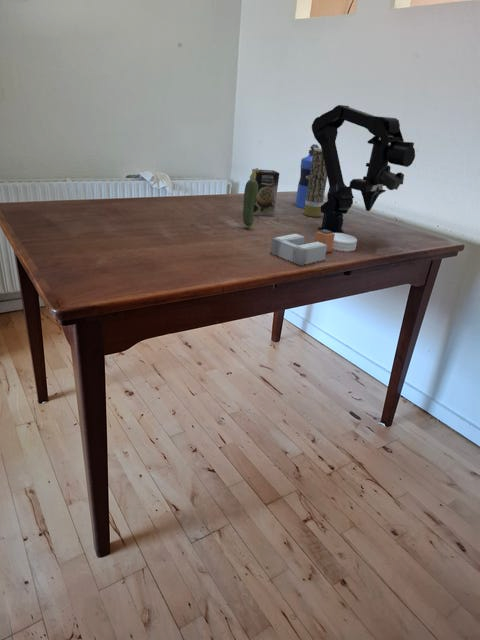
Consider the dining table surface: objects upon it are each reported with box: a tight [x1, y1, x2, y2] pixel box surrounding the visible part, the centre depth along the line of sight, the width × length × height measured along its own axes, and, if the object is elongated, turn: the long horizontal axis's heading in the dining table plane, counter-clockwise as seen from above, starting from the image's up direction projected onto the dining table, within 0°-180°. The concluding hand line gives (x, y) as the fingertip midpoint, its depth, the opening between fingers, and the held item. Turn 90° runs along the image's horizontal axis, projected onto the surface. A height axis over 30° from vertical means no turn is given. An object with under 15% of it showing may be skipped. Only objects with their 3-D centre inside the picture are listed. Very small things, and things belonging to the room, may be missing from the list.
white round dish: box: [332, 232, 358, 253], centre depth 145 cm, size 10×10×4 cm
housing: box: [270, 233, 327, 266], centre depth 132 cm, size 12×10×5 cm
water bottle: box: [294, 143, 320, 209], centre depth 190 cm, size 9×9×25 cm
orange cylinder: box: [314, 229, 335, 253], centre depth 139 cm, size 4×4×6 cm
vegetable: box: [242, 167, 260, 229], centre depth 151 cm, size 4×4×20 cm
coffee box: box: [251, 168, 280, 217], centre depth 172 cm, size 9×6×16 cm
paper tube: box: [303, 147, 328, 218], centre depth 176 cm, size 7×7×25 cm
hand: (367, 210), depth 149 cm, fingers closed
